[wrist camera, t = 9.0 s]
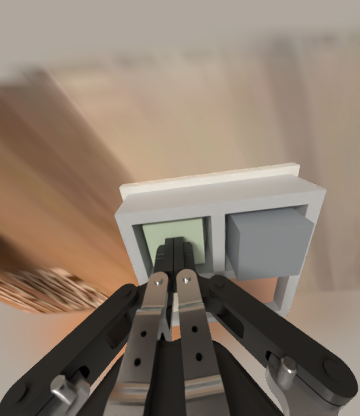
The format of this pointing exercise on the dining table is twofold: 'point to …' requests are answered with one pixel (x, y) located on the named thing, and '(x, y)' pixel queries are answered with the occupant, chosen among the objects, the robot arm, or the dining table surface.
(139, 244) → the keypad
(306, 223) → the key slate
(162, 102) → the dining table surface
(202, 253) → the key sage
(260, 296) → the key terracotta
